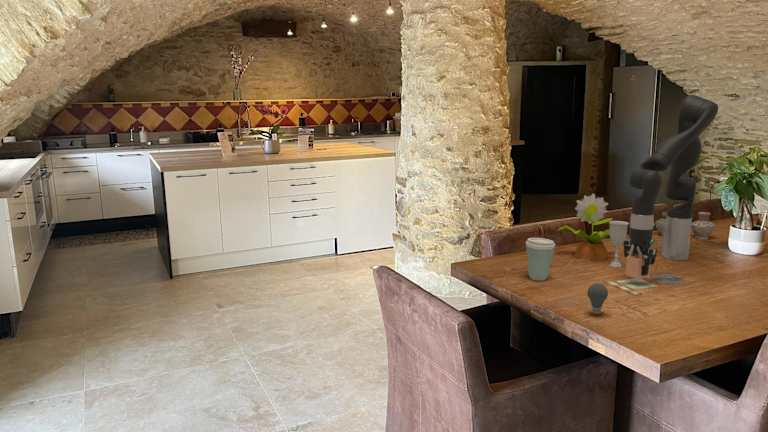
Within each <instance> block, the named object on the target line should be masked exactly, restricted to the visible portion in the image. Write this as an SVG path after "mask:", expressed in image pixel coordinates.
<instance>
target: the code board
mask: <svg viewBox="0 0 768 432" xmlns="http://www.w3.org/2000/svg"><path fill="white" fill-rule="evenodd" d="M649 279H652V280H654V281H656V282H659V283H662V284H664V285H667V286H668V285H675V284H680V283H681V284H682V283H688V282H689V283H690V281H689V280H686V279H684V278H681V277H678V276H676V275H673V274H671V273H667V272H666V273H662V274H654V275H650V278H649ZM602 282H603V283H605V284H607V285H609V286H611V287H614V288H616V289H619V290H621V291H622V292H625V293H628V294H629V295H631V296H636V297H637V296H641V295H643V293H640V292H638V291H636V290H643V289H649V288H655V287H656V288H657V287H658V285H656V284H654V283H652V282H649V281H647V280H644V279H635V278H627V279H619V280H615V281H613V280H611V279H609V278H607V279H603V280H602Z"/></svg>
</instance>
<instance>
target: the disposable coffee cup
mask: <svg viewBox="0 0 768 432" xmlns="http://www.w3.org/2000/svg"><path fill="white" fill-rule="evenodd" d="M525 245H526V246H525V248H526V259H527V268H528V269H527V270H528V276H529V279H530V280H534V281H546V280H547V278H548V277H549V273H550V268H551V265H552V259H553V257H554V256H553V255H554V252H555V248H556V243H555V242H554V240H553V239H548V238H543V237H528V238H527V240H526V241H525Z"/></svg>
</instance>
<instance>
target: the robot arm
mask: <svg viewBox="0 0 768 432" xmlns="http://www.w3.org/2000/svg"><path fill="white" fill-rule="evenodd" d="M718 112H719V104H718V103H716V102H714V101H712V100H709V99H708V98H704V97H701V96H699V95H696V94H690V95H688V96H687V95H686V97H685V98H684V99H683V101H682V102H681V105H680V107H679V112H678V120H677V133H676V135H673V136H670V137H668V138H666V139H665V140H663V141H662V142H661V143H660V144H659V145H658V146H657V148H656V149H655V150H654V151H653V152H652V154H651V155H650V156H649V157H647V158H646V159H644V160H643V161H642V162H640V163H639V164H638V165H637V166H636V167H634V169H633V170H632V171H631V172H630V175H629V179H628V181H629V185H630V186H631V187H632V188H635V189H637V190H642V193H641V195H637V196H635V197H633V199H632V203H631V214H630V215H631V216H630V218H629V231H628V232H629V233H628V240H624V242H623V243H622V245H623V257H624V258H627V256H630V255H631V256H633V255H639V257H640V259H642V271H641V275H642V276H646V275H647V274H648V271H649V265H651V266H652V265H654V264H655V262H656V257H657V253H658V249H657V248H653V247H652V246H651V243H650V242H651V240H652V238H653V235H654V227H653V224H654V225H655V221H654V220H655V219H654V216H655V215H654V211H655V203H656V200H657V197H658V194H659V192H660V190H661V187H662V183H663V182H662V176H661V174H660V173H659V172H665V171H666V170H668V168H670V169H669V172H668V175H667V179H666V182H665V188H664V195H665V197H666V198H667V199H668V200H672V201H684V202H682V203H681V204H679V205H677V206H672V207H669V208H668V209H667V211H666V212H667V220H666V231H665V233H664V234H663V236H662V245H661V256H662V257H663V258H665V259H666V260H671V261H673V260H674V261H686V260H688V259H689V251H690V244H691V243H690V242H691V233H692V232H691V231H692V227H691V224H692V223H693V210H694V203H695V197H696V190H697V181H696V179H695V178H694V177H685V176H684V177H683V175H684V174H686V173H688V171H691V170H692V169H693V168H694V167H695V166H696V165H698V163H699V161H700V158H701V153H702V148H703V147H702V141H701V139H700V137H699V136H700V135H701V134H702V132H705V130H706V129H707V128H709V126H710V125H711V124H712V122H713V121H714V120H715V118H716V116H717V115H718ZM629 238H630V239H631V240H629ZM645 259H647V261H646V262H645Z"/></svg>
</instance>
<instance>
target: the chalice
mask: <svg viewBox="0 0 768 432" xmlns="http://www.w3.org/2000/svg"><path fill="white" fill-rule="evenodd" d="M608 224H609V230H610V232H609V235H608V236H609V237H610V238H609V239H610V240H611V243H612V245H613V246H614V247H615V248H614V253H615V254H614V255H613V256H614V260H613V261H611V262H610V264H609V266H608V267H613V268H622V263H621V262H620V261H619V260H618V258H619V257H620V255H619V253H620V252H619V248H620V247H621V246H622V245H623V242H624V241H626V238H627V236H628V226H629V225H630V222H628V221H624V220H611V221H608Z"/></svg>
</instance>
